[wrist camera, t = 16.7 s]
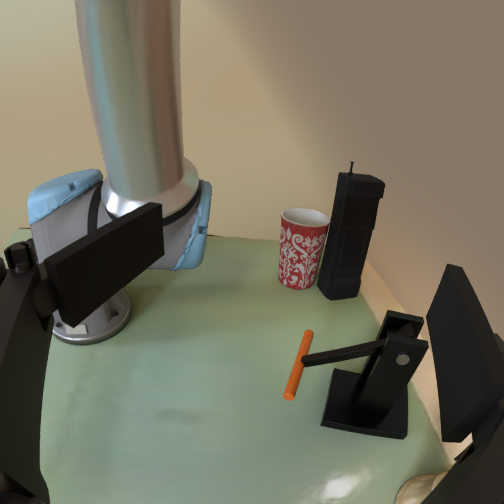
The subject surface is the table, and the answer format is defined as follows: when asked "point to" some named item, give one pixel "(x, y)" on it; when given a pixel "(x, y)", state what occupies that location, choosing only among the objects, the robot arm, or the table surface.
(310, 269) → the mug
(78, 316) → the robot arm
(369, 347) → the switch lever
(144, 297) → the table surface
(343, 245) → the portable radio
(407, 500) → the hand bell
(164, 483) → the table surface
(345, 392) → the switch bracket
